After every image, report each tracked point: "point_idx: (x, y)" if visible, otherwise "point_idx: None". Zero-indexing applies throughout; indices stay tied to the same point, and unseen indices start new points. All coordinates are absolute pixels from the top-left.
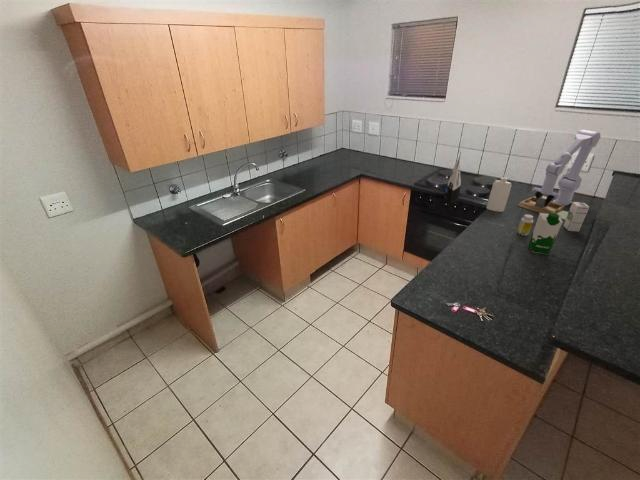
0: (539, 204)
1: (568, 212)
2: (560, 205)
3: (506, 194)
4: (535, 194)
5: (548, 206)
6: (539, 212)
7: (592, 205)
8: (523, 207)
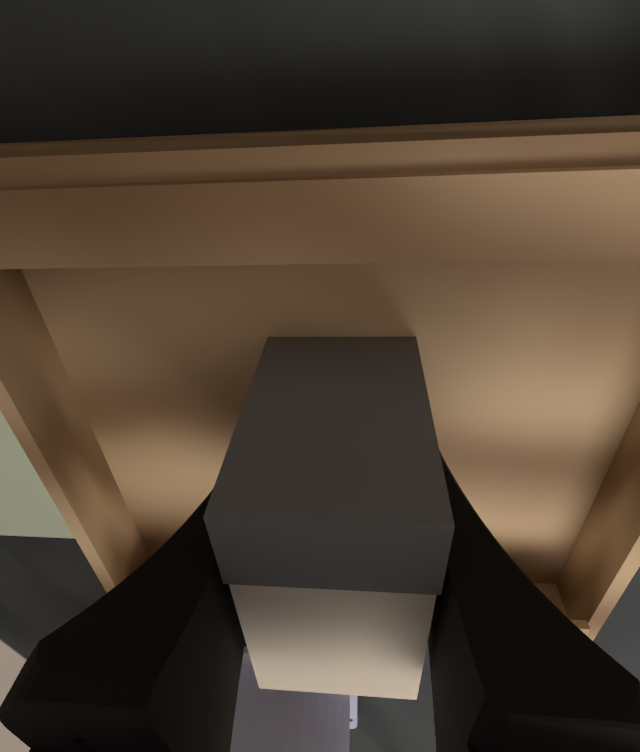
0: (327, 401)
1: (28, 527)
2: None
3: None
4: (623, 678)
5: None
6: (177, 140)
7: None
8: (628, 120)
